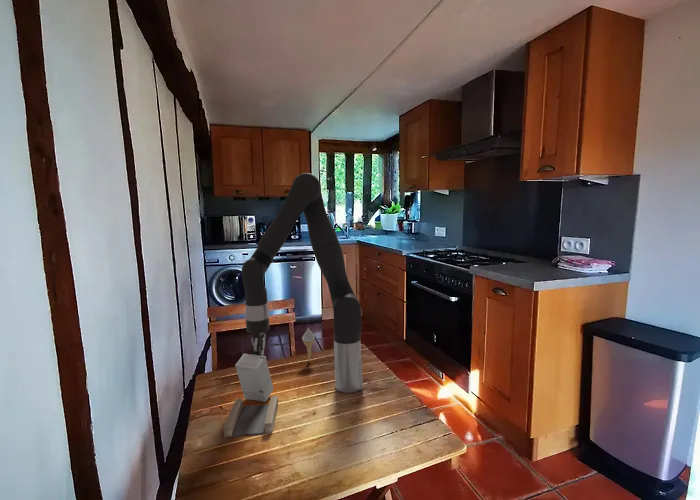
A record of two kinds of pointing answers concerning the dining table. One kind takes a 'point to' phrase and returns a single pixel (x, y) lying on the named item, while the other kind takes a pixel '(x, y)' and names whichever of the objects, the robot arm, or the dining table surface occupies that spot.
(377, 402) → the dining table surface
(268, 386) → the skincare box
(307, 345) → the ice cream cone
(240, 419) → the rest
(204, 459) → the dining table surface
